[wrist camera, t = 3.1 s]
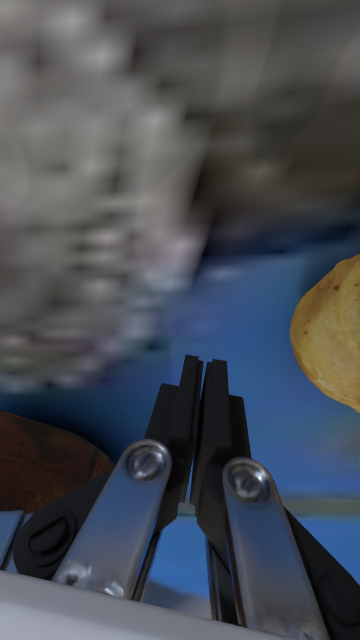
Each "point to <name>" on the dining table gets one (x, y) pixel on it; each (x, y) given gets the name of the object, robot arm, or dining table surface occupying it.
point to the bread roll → (331, 333)
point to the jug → (43, 463)
